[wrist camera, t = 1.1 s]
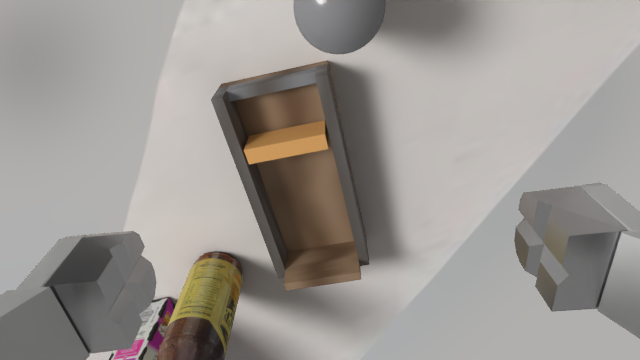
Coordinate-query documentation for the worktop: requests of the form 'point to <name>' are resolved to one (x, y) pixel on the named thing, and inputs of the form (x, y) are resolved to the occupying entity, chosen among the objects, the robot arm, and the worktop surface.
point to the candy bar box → (148, 332)
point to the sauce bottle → (204, 310)
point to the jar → (339, 23)
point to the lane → (297, 176)
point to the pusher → (287, 142)
